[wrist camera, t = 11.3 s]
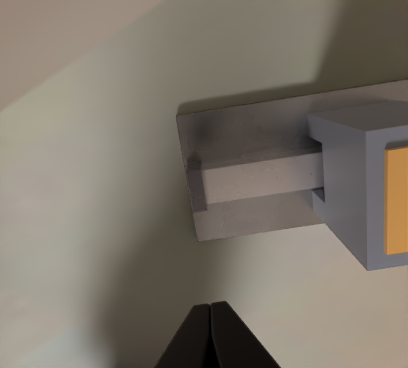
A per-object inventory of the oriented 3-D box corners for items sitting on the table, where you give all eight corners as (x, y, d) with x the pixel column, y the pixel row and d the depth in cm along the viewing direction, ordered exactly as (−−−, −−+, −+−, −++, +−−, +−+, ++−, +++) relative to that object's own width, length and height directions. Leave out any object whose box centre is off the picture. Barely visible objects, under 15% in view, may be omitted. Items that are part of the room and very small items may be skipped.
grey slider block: (393, 198, 21) (490, 256, 14) (313, 210, 21) (370, 273, 14) (394, 100, 19) (506, 111, 12) (307, 114, 19) (368, 132, 12)
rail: (506, 192, 22) (546, 206, 19) (197, 237, 22) (197, 257, 20) (521, 60, 19) (569, 58, 17) (176, 115, 20) (173, 120, 17)
